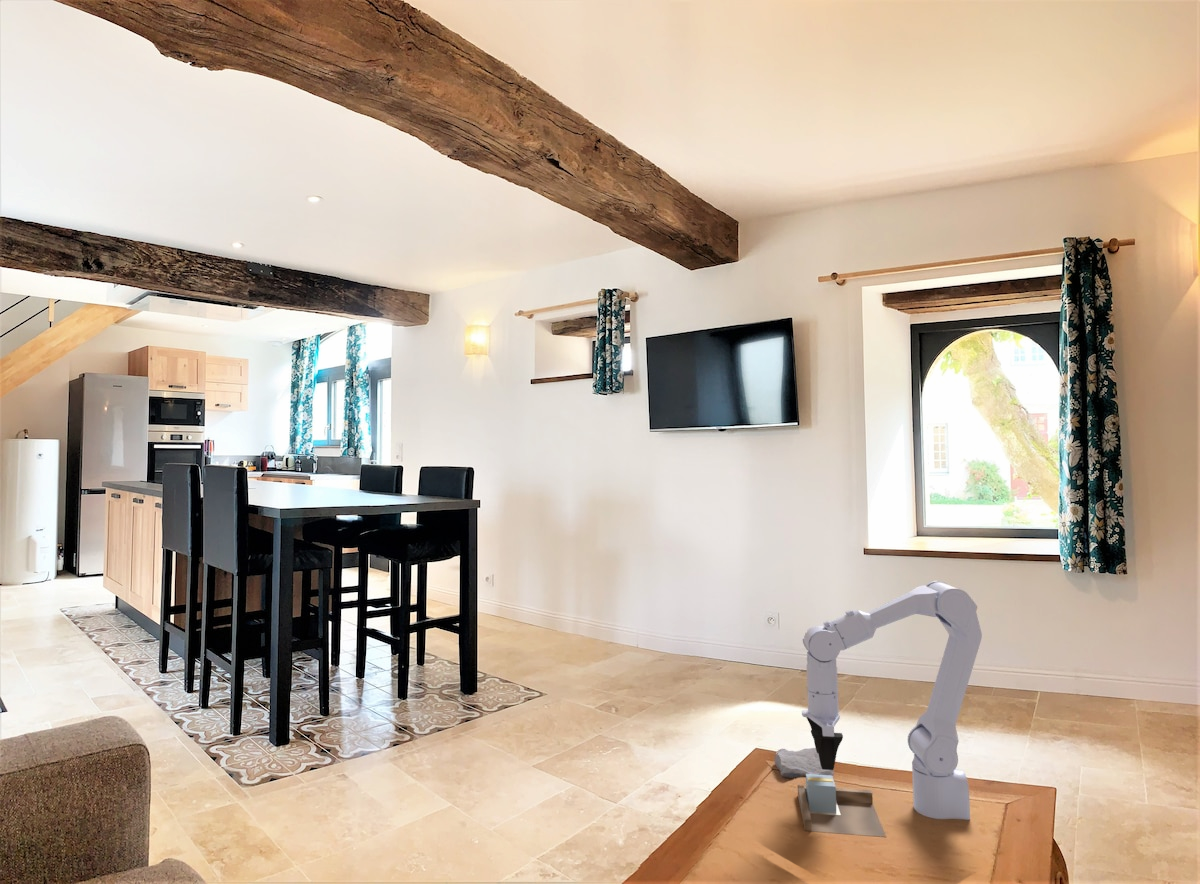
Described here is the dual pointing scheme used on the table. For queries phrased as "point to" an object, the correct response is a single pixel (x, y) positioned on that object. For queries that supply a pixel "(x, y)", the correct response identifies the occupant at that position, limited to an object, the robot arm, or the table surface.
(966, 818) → the robot arm
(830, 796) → the cube
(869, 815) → the tray
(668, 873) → the table surface
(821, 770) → the stone block
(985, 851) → the table surface
